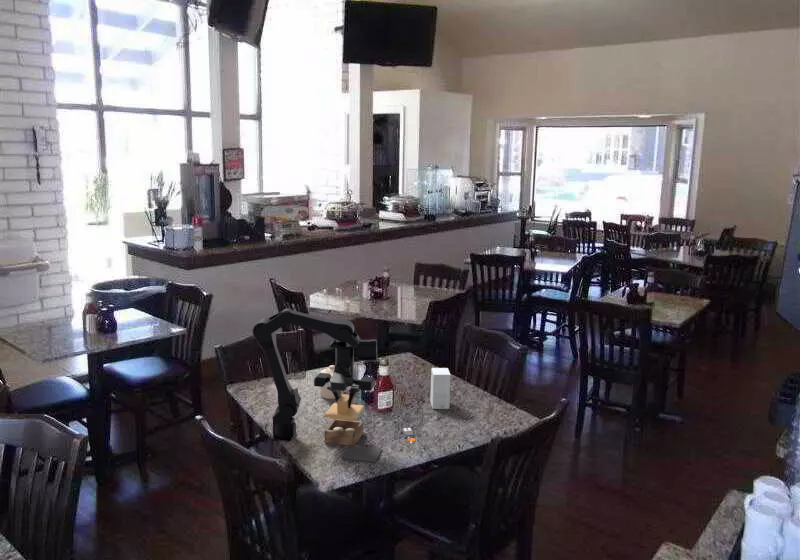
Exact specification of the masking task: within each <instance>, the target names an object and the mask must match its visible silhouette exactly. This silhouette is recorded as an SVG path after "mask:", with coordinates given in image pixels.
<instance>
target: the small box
mask: <svg viewBox="0 0 800 560" xmlns="http://www.w3.org/2000/svg"><path fill="white" fill-rule="evenodd" d="M430 371H431V372H430V374H431V375H430V376H431V377H430V404H431V409H433V410H449V409H450V405H451V404H450V403H451V399H450V397H451V376H452V374H451V373H450V370H449V368H448V367H431V370H430Z"/></svg>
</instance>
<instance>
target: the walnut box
mask: <svg viewBox="0 0 800 560" xmlns="http://www.w3.org/2000/svg"><path fill="white" fill-rule="evenodd" d="M331 420H332V421H331V422H330V423H329V424H328V426H327V427H326V428H325V430H324V443H325V444H335V445H343V446H344V445H345V446H351V445H352V446H357V443H358V442H359V440H360V439H361V437H362V436H363V434H364V421H360V420H353V421H350V420H340V419H331Z"/></svg>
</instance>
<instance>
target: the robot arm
mask: <svg viewBox="0 0 800 560" xmlns="http://www.w3.org/2000/svg"><path fill="white" fill-rule="evenodd" d="M288 324H289V325H292V326H293V325H294V326H297V327H301V328H305V329H308V330H313V331H316V332H321V333H323V334H325V335H327V336H329V337H331V338H333V340H332V341H331V342H330V343H329V348H330V349H334V348H335V365H334V373H333V375H332V377H331V374H329V373H320V372H319V374H317V375H316V376H315V377H314V378H313V386H314V387H319V388H320V387H323V386H324V385H325V384H326V383H328V387H327V389H328V390H330V391H332V393H333V394H334V397H335V399H334V400H335V403H337V401H338V399H339V398H340V397H341V391H343V392H344V391H345V392H346V390H347V388H349V387H350V389H348V393H349V394H348V395H349V403H348V406H349V408H350V407H351V405H352V404H353V402H354V398H355V397H356V394H357V393H359V392H360V391H364V392H371V391H372V390H373V389H374V388H375V386H376V379H375V378H374V376H373V377H371V376H362V377H361V378H360V379H356V378H355V379H354V377H355V373H354V370H355V360H354V359H355V358H357V360H358V362H377V361H378V347H377V344H378V343H377V341H378V340H377V339H375V338H374V339H373V338H372V339H361V337H360V336H359V334H358V333H357V332H356V331H355V325H354V323H353V322H352V321H351V320H349V319H342V318H332V319H331V318H325V317H320V316H316V315H312V314H309V313H304V312H301V311H297V310H294V309H291V308H288V307H287V308H285V309H283V310H282V311H280V312H278V313H276V314H273V315H271V316H270V317H269V318H268V317H263V318H260V319H259V320H258V321H257V323H255V325H254V327H253V328H252V335H253V337H254V339H255V342H257V344H258V346H260V348H261V349H262V351H263V353H264V356H265V358H266V362H267V364H268V367H269V369H270V373H271V377H272V379H273V383H274V386H275V388H276V392H277V403H278V404H277V405H278V406H277V407H276V409H275V411H274V413H273V416H272V417H271V418H272V419H271V420H272V436H271V437H270V439H271V440H275V441H284V442H291V441H292V439H293V438H294V437H295V436H296V435H297V422H295V416H296V415H297V413H298V410H299V407H300V405H301V401H302V397H301V396H300V394H299V390H298V389H299V388H298V387H296V388H294V387H292V386H291V384H290V382H289V379H288V375H287V372H286V369H285V365H284V364H283V360H282V357H281V354H280V351H279V348H278V346H277V344H278V343H277V332H276V331H278V330H279V329H281V328H282V327H284V326H286V325H288ZM354 349H355V350H354ZM354 354H355V355H354Z"/></svg>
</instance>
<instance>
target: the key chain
mask: <svg viewBox="0 0 800 560" xmlns="http://www.w3.org/2000/svg"><path fill="white" fill-rule="evenodd" d="M401 432H402V435H404V437H405V438H408V439H407V441H408V442H409V443H410V444H413V442H416V439H415V438H414V437H415V434H414V431H413V429H412V427H403V428H401Z"/></svg>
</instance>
